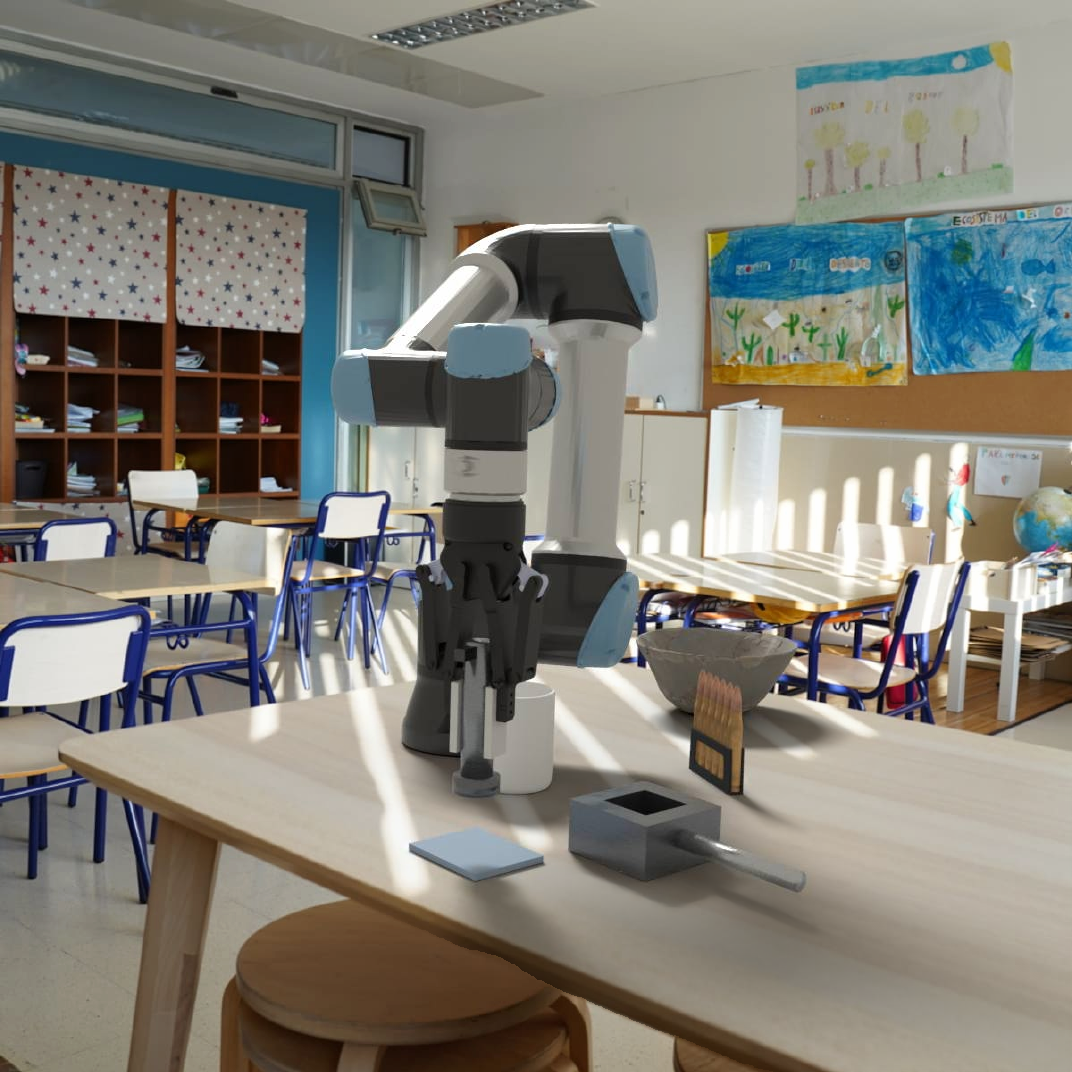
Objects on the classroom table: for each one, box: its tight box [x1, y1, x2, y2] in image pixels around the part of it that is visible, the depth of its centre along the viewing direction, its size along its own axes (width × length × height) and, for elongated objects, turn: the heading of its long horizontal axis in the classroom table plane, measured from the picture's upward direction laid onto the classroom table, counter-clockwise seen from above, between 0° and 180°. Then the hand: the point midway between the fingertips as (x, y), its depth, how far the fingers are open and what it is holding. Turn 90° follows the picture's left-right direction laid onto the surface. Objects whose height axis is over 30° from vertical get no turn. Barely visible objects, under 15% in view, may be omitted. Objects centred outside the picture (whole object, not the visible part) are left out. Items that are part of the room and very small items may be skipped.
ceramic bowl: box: [635, 627, 798, 714], centre depth 179 cm, size 22×23×10 cm
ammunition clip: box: [688, 669, 746, 796], centre depth 145 cm, size 11×2×12 cm, turn 17°
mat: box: [408, 826, 545, 882], centre depth 119 cm, size 10×8×1 cm
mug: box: [493, 681, 556, 795], centre depth 143 cm, size 9×12×11 cm
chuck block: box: [567, 780, 807, 894], centre depth 115 cm, size 23×10×5 cm, turn 41°
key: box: [451, 638, 501, 799], centre depth 117 cm, size 7×4×14 cm, turn 151°
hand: (477, 751), depth 118 cm, fingers closed on key, 3 cm apart
